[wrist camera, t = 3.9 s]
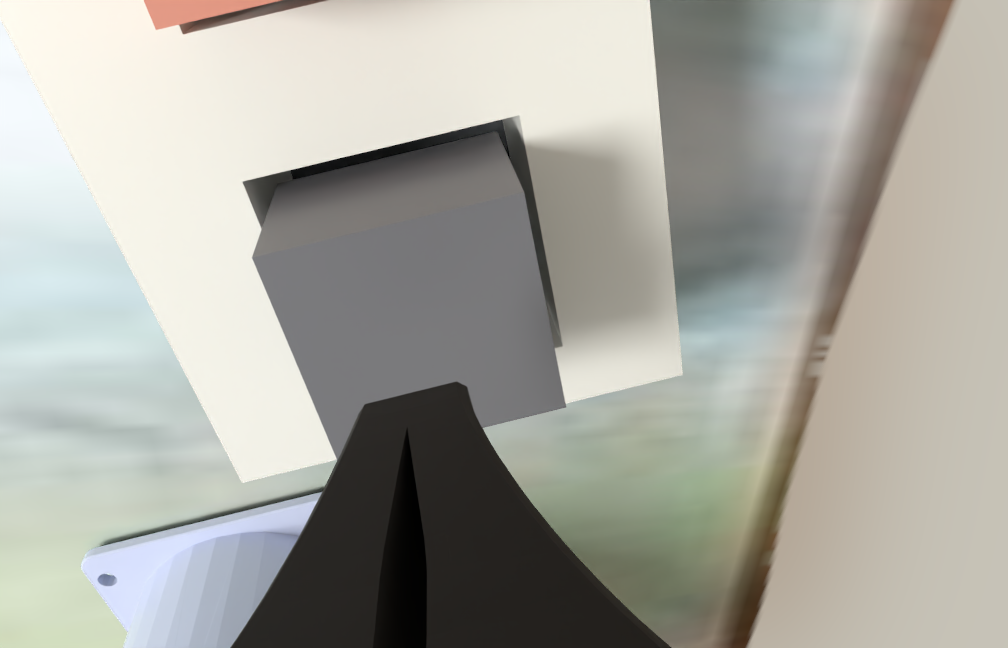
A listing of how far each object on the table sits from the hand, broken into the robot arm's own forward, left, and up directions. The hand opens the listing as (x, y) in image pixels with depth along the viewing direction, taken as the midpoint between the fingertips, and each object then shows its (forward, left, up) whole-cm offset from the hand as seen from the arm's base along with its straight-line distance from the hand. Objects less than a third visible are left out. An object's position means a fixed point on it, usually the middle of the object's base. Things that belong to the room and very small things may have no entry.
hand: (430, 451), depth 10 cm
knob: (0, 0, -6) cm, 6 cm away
